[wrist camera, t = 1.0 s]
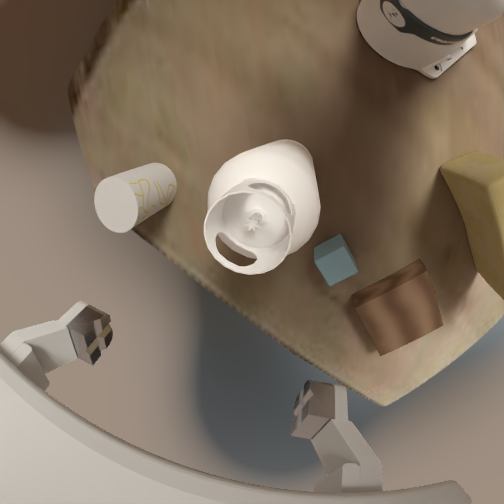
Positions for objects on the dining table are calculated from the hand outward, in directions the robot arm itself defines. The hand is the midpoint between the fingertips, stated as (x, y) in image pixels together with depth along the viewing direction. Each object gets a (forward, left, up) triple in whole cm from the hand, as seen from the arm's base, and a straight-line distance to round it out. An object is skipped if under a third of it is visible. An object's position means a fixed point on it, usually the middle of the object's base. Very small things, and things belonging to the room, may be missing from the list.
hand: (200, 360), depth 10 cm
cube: (-1, +14, -35) cm, 37 cm away
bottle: (-2, -2, -35) cm, 35 cm away
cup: (+18, -12, -35) cm, 41 cm away
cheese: (-27, +21, -35) cm, 49 cm away
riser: (-7, +30, -35) cm, 46 cm away
